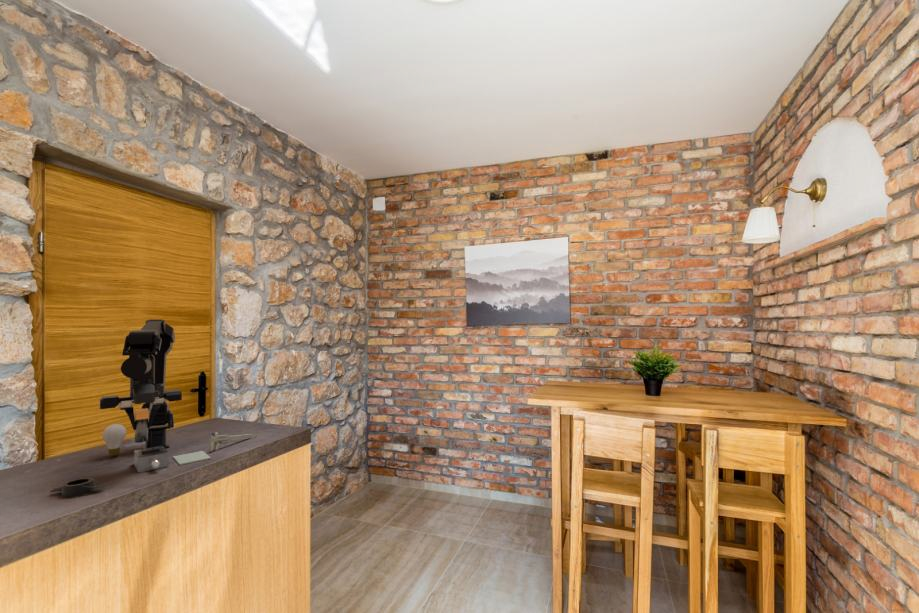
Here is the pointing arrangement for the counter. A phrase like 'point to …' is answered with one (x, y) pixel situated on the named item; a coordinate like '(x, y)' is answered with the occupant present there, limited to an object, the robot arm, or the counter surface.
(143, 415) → the orange capped vial
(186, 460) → the rubber mat
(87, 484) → the dark flanged ring
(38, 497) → the counter surface
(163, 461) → the block
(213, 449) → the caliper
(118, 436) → the light bulb
